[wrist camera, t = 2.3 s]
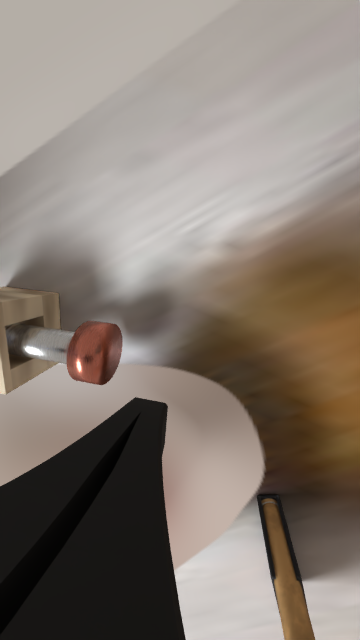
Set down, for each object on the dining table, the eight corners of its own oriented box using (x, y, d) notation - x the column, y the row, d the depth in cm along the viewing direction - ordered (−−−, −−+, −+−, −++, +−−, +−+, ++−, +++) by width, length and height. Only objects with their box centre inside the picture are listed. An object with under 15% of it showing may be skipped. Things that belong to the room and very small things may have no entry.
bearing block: (13, 352, 19) (-58, 381, 14) (5, 286, 18) (-77, 293, 13) (62, 360, 19) (6, 394, 14) (58, 293, 17) (-7, 303, 12)
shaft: (26, 351, 17) (-27, 374, 14) (21, 304, 16) (-38, 315, 13) (121, 367, 16) (92, 398, 12) (122, 317, 15) (91, 334, 11)
